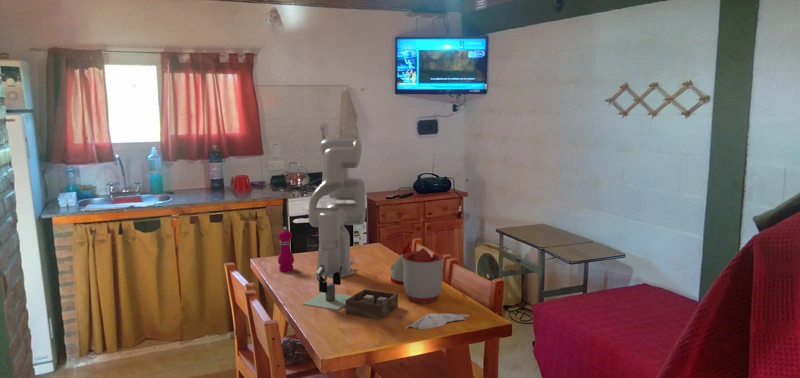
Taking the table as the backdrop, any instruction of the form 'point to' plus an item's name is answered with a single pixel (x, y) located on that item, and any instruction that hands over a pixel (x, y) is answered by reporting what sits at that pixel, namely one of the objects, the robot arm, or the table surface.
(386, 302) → the box
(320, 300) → the lid
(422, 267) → the citrus juicer
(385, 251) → the table surface
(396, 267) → the kitchen timer
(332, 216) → the robot arm
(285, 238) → the pepper mill
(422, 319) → the cloth
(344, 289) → the table surface
